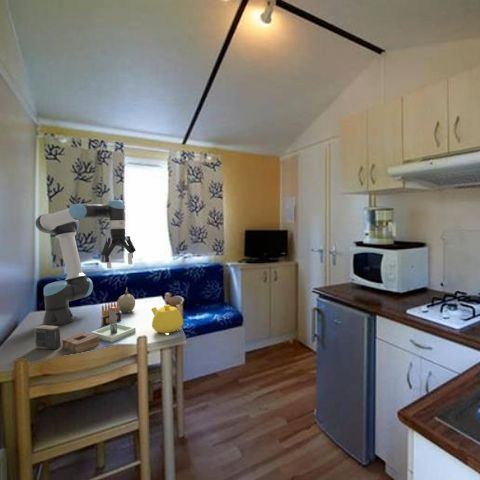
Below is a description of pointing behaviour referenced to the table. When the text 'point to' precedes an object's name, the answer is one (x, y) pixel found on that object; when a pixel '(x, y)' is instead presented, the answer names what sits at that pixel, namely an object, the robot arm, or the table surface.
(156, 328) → the teapot
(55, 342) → the camera
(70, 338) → the slotted wooden block
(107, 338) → the tray
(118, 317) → the ammunition clip
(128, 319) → the table surface
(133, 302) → the fruit
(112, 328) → the pin
